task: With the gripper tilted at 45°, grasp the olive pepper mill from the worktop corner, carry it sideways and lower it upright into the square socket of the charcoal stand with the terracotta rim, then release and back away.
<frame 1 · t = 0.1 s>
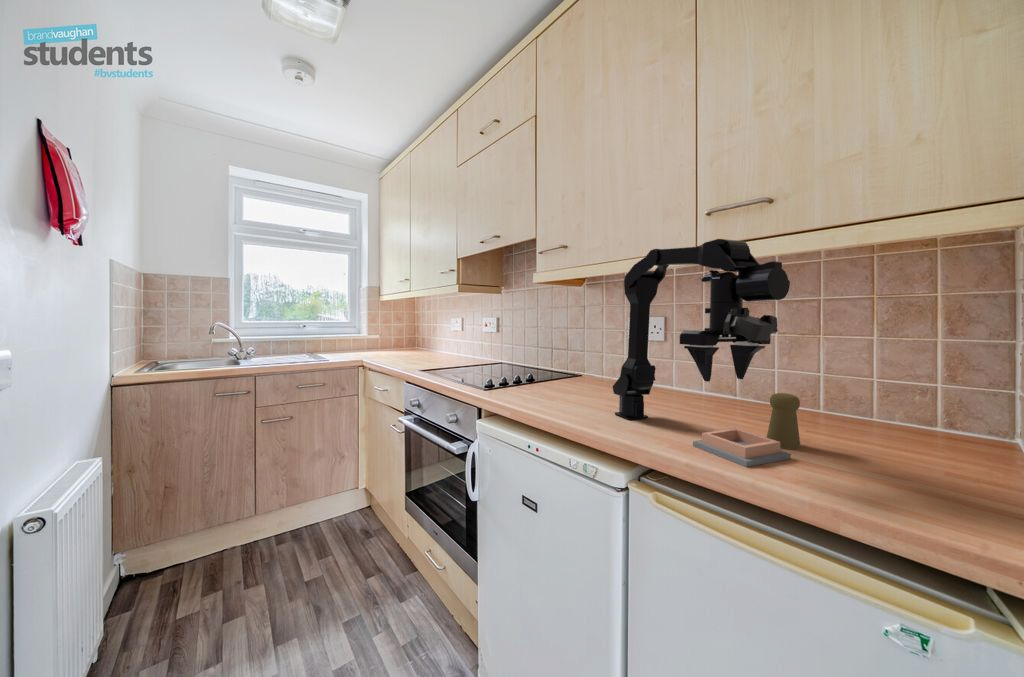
hand: (723, 380, 74), 15 cm above the worktop, tool pointing down, fingers open, 9 cm apart
olive pepper mill: (782, 445, 79), on the worktop
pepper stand: (739, 451, 74), on the worktop
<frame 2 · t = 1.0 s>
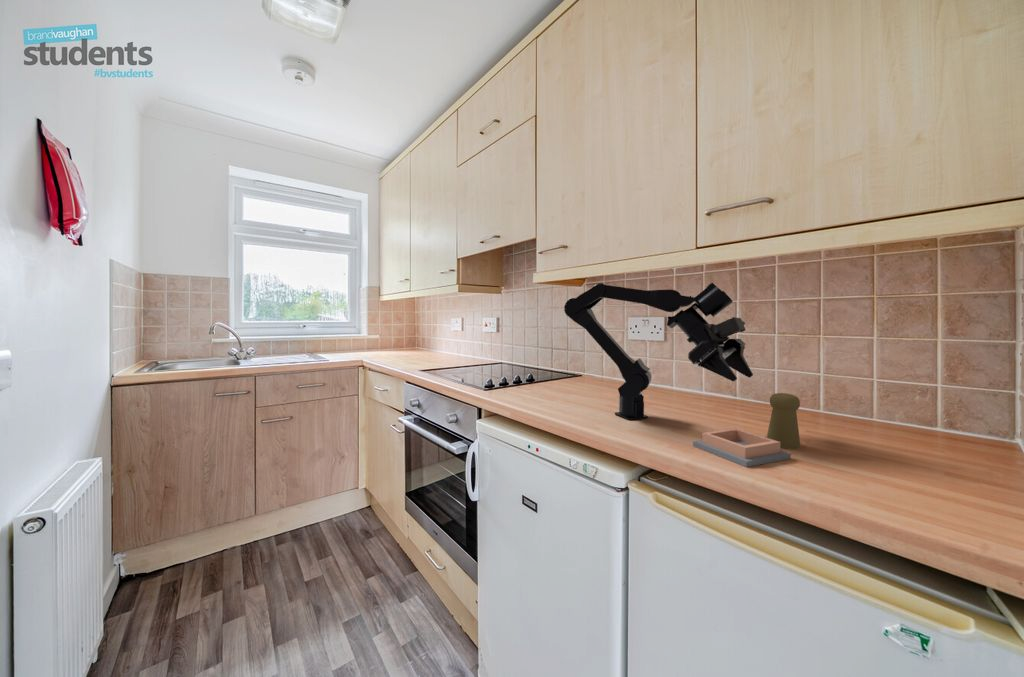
hand: (743, 378, 84), 13 cm above the worktop, tool tilted 45°, fingers open, 9 cm apart
nothing on the worktop moved.
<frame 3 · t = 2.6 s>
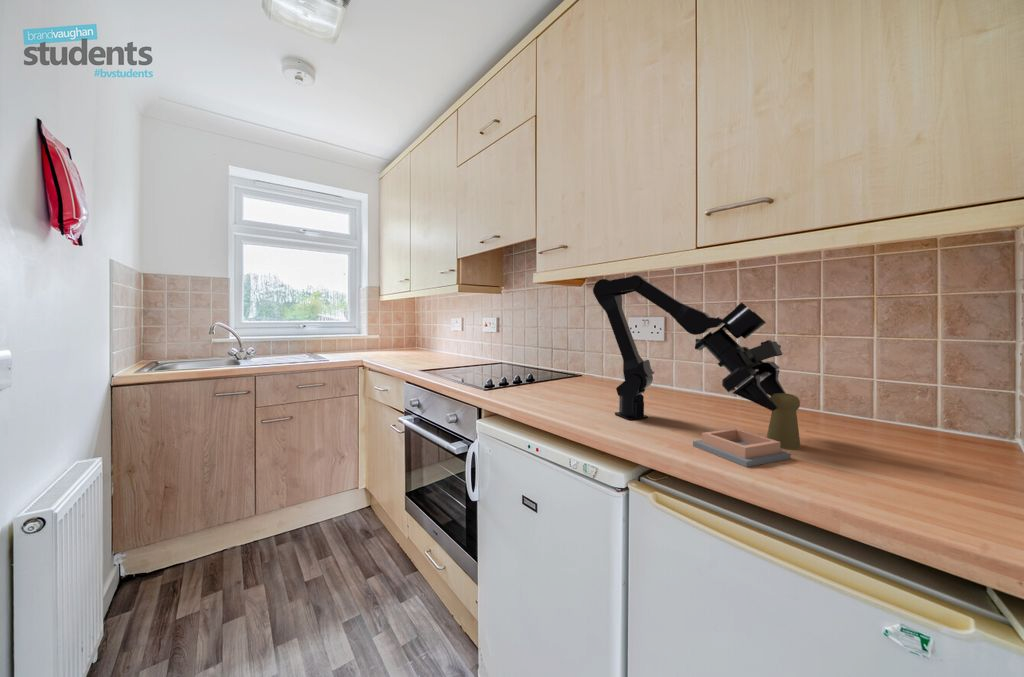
hand: (782, 406, 79), 8 cm above the worktop, tool tilted 45°, fingers open, 9 cm apart
nothing on the worktop moved.
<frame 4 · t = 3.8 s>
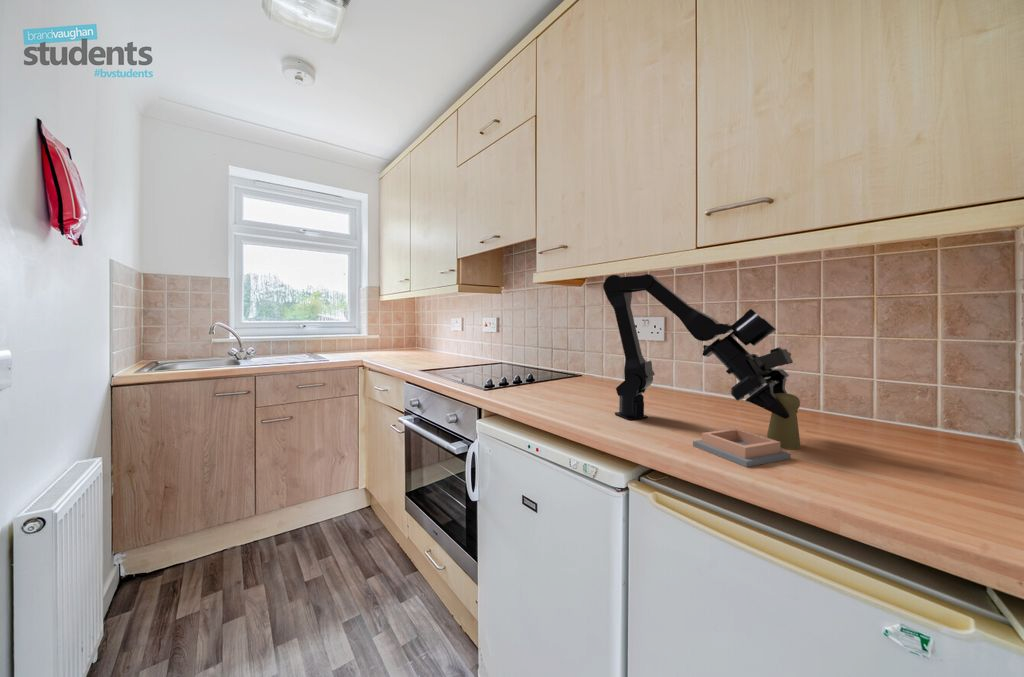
hand: (792, 415, 78), 7 cm above the worktop, tool tilted 45°, fingers closed on olive pepper mill, 5 cm apart
olive pepper mill: (782, 445, 79), on the worktop, touching gripper
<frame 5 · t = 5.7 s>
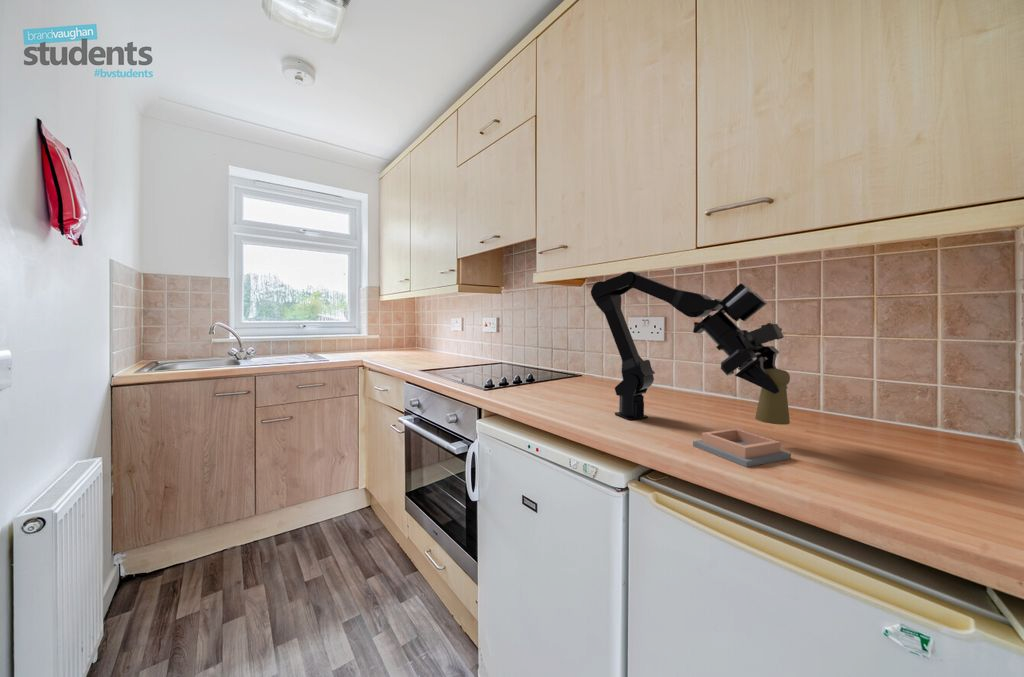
hand: (781, 390, 76), 12 cm above the worktop, tool tilted 45°, fingers closed on olive pepper mill, 5 cm apart
olive pepper mill: (772, 421, 78), point 5 cm above the worktop, touching gripper
when the fingers open (8 cm above the worktop, at t = 7.8 s): olive pepper mill stays where it is, resting on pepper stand.
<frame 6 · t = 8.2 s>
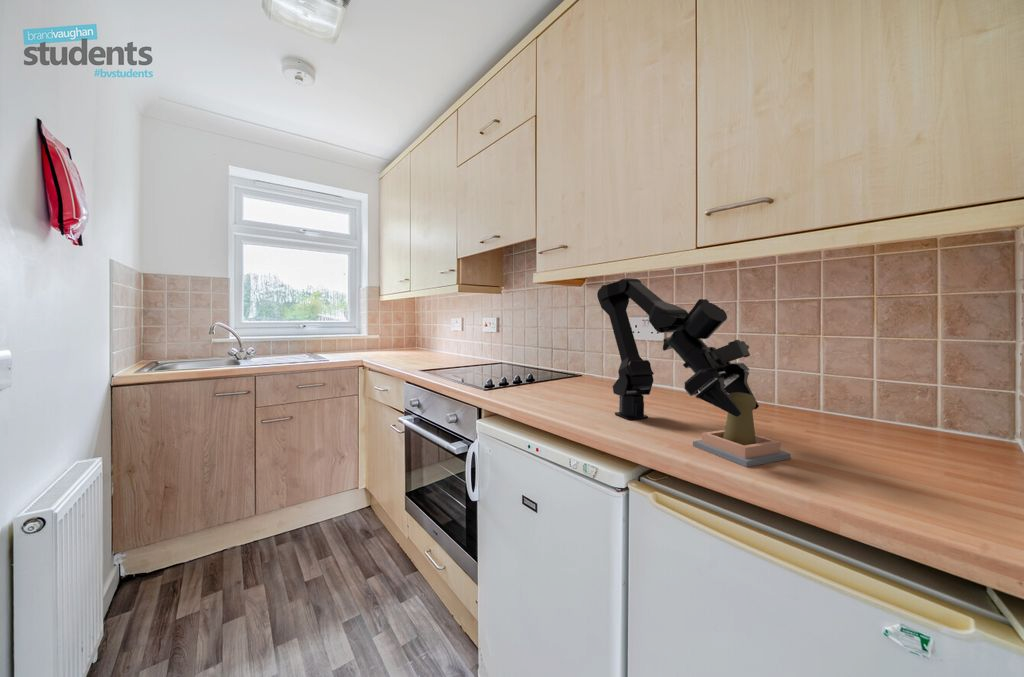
hand: (748, 411, 73), 9 cm above the worktop, tool tilted 45°, fingers open, 9 cm apart
olive pepper mill: (739, 447, 75), point 1 cm above the worktop, touching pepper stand
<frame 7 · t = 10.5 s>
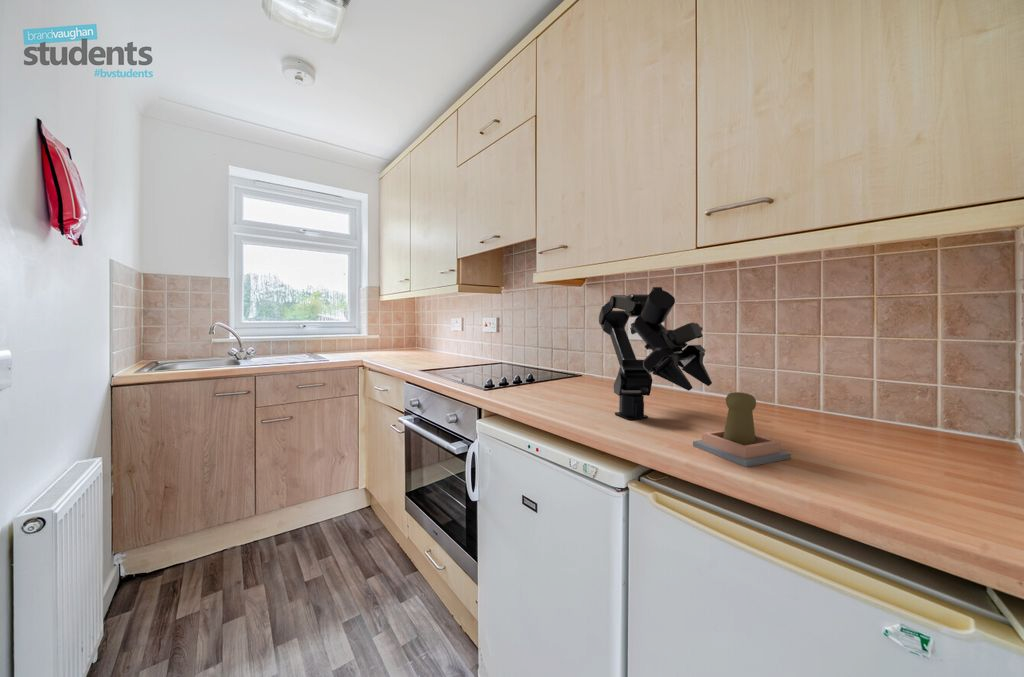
hand: (700, 386, 80), 12 cm above the worktop, tool tilted 45°, fingers open, 9 cm apart
nothing on the worktop moved.
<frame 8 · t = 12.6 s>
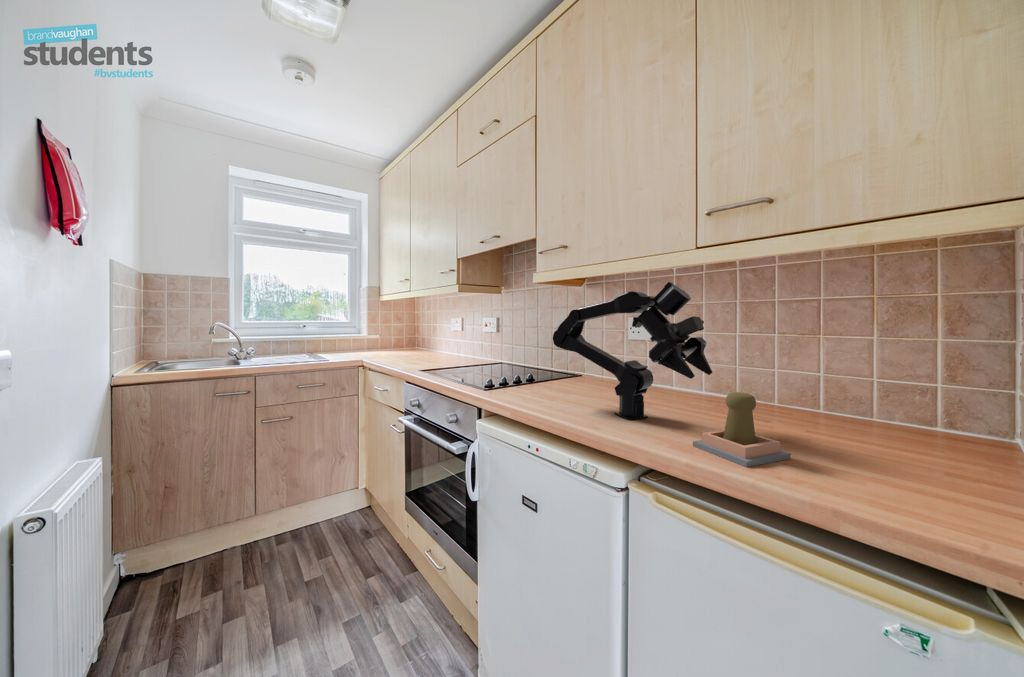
hand: (702, 375, 87), 14 cm above the worktop, tool tilted 45°, fingers open, 9 cm apart
nothing on the worktop moved.
at the end: olive pepper mill 0.1 cm off-centre on the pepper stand, point 0.8 cm above the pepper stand's base; olive pepper mill tilted 0°; the gripper is holding nothing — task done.
